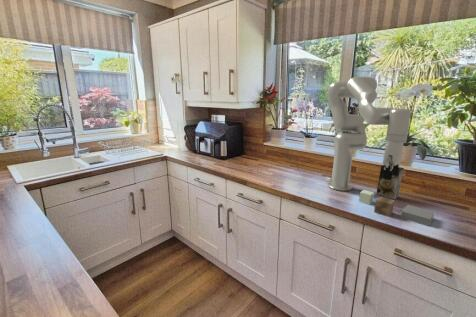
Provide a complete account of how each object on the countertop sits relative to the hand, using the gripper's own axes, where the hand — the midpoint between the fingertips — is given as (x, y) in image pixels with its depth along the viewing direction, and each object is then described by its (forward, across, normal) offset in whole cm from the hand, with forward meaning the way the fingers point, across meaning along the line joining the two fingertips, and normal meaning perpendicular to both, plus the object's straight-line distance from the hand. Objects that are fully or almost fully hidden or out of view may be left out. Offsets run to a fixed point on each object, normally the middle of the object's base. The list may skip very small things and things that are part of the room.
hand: (390, 177), depth 111 cm
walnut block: (+17, 0, -1) cm, 17 cm away
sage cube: (+17, -8, -11) cm, 21 cm away
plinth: (+17, -6, +11) cm, 21 cm away
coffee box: (+17, -24, -6) cm, 30 cm away
